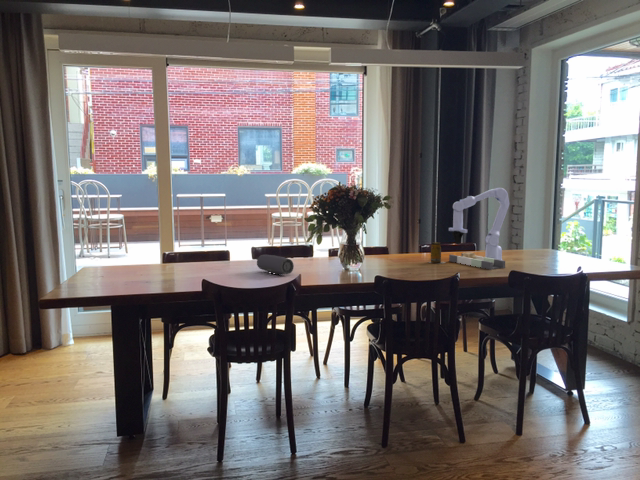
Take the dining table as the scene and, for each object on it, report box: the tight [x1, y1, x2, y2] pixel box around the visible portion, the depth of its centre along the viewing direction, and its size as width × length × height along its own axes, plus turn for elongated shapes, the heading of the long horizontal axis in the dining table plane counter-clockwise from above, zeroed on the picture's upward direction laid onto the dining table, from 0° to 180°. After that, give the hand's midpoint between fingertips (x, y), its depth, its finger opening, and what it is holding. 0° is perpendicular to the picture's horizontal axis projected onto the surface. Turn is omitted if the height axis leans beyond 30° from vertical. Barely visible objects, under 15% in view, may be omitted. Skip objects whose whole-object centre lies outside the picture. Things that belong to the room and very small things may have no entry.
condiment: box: [428, 241, 447, 265], centre depth 323 cm, size 7×8×12 cm
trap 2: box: [492, 266, 504, 270], centre depth 304 cm, size 8×7×1 cm
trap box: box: [448, 252, 506, 271], centre depth 315 cm, size 11×34×4 cm, turn 27°
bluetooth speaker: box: [256, 254, 294, 275], centre depth 295 cm, size 23×9×10 cm, turn 42°
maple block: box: [462, 251, 476, 259], centre depth 320 cm, size 5×5×4 cm
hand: (457, 243), depth 328 cm, fingers closed
